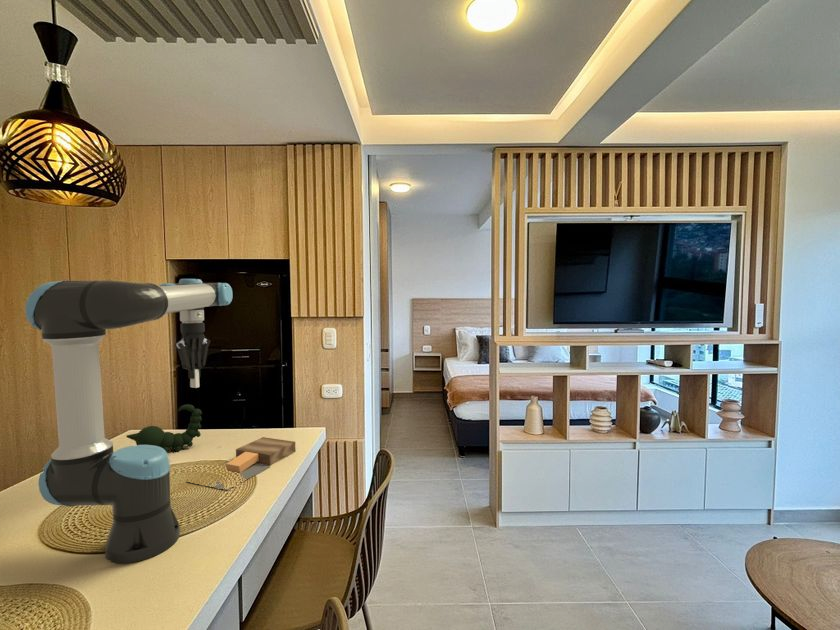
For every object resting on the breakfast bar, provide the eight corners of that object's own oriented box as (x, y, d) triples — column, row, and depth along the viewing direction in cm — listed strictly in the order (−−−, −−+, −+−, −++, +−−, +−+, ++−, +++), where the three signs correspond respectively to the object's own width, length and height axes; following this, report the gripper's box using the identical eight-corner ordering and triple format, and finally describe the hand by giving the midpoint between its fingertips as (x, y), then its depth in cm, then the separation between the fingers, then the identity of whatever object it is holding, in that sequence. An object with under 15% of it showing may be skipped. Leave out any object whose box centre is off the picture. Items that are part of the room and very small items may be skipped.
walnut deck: (270, 465, 146) (269, 454, 146) (236, 459, 152) (235, 449, 152) (295, 451, 159) (295, 441, 159) (263, 446, 165) (263, 437, 165)
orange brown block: (240, 473, 139) (239, 466, 139) (226, 470, 142) (225, 463, 141) (259, 460, 148) (258, 453, 147) (246, 457, 150) (245, 451, 150)
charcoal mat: (227, 491, 127) (227, 490, 127) (185, 482, 134) (185, 481, 134) (270, 467, 145) (270, 466, 145) (232, 460, 151) (231, 459, 151)
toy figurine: (198, 446, 172) (125, 454, 157) (201, 401, 172) (128, 405, 158) (200, 452, 164) (124, 462, 150) (203, 405, 164) (127, 410, 150)
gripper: (183, 323, 138) (186, 391, 139) (215, 321, 151) (217, 384, 152) (168, 323, 141) (170, 390, 142) (200, 320, 153) (202, 382, 154)
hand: (194, 387), depth 147 cm, fingers closed
